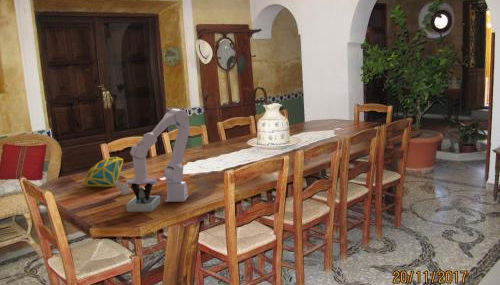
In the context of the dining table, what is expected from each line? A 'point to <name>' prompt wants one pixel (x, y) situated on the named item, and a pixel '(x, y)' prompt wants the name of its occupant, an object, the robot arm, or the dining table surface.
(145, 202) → the battery cell
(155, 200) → the dish
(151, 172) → the dining table surface
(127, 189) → the lighter
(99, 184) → the decorative object
